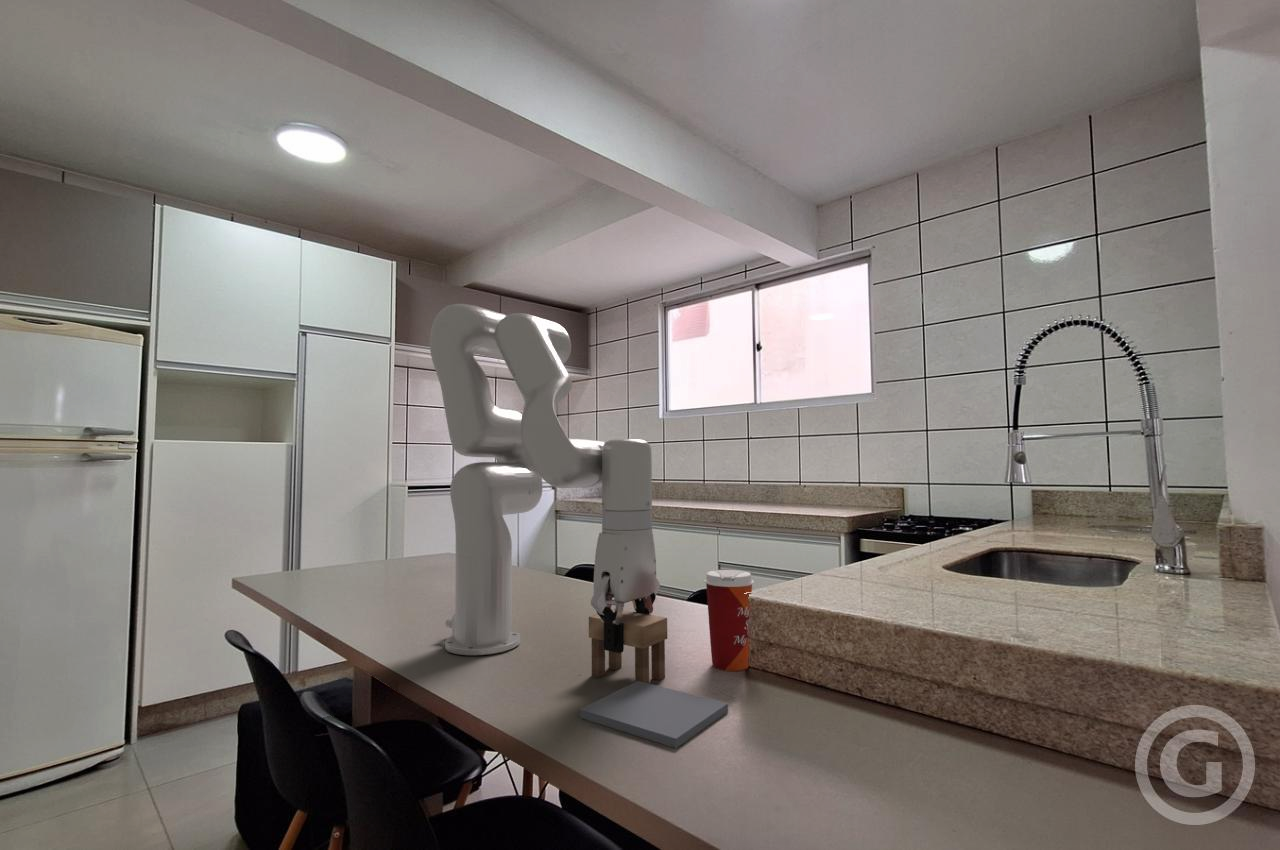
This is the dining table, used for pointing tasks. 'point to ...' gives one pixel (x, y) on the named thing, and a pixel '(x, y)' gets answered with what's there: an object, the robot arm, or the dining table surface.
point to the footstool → (632, 644)
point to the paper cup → (729, 618)
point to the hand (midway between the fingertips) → (627, 644)
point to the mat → (655, 712)
